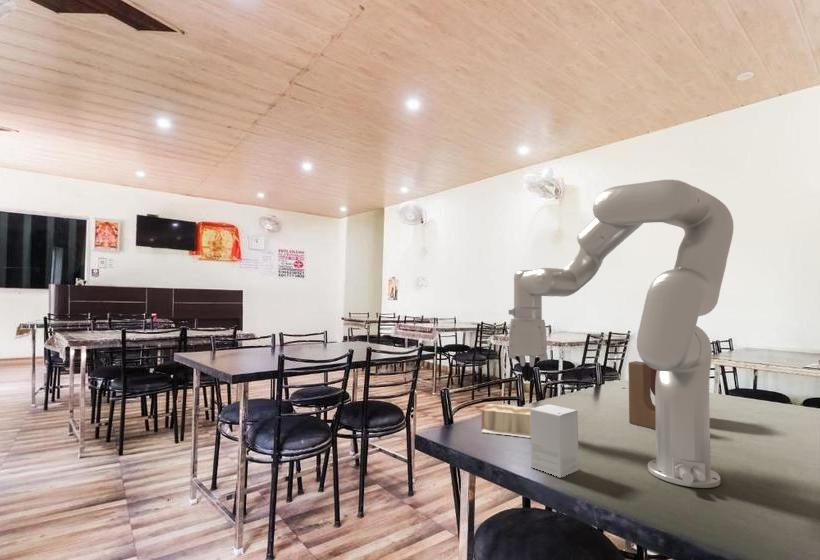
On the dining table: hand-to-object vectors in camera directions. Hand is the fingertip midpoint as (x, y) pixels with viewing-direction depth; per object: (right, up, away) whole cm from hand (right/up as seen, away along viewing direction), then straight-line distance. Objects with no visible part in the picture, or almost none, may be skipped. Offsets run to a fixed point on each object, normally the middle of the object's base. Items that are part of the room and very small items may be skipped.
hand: (527, 380), depth 118 cm
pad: (-4, -14, +1) cm, 14 cm away
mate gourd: (+51, -15, +15) cm, 55 cm away
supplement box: (-2, -13, -28) cm, 30 cm away
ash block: (+4, -11, -2) cm, 12 cm away
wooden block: (+36, -15, +5) cm, 40 cm away
